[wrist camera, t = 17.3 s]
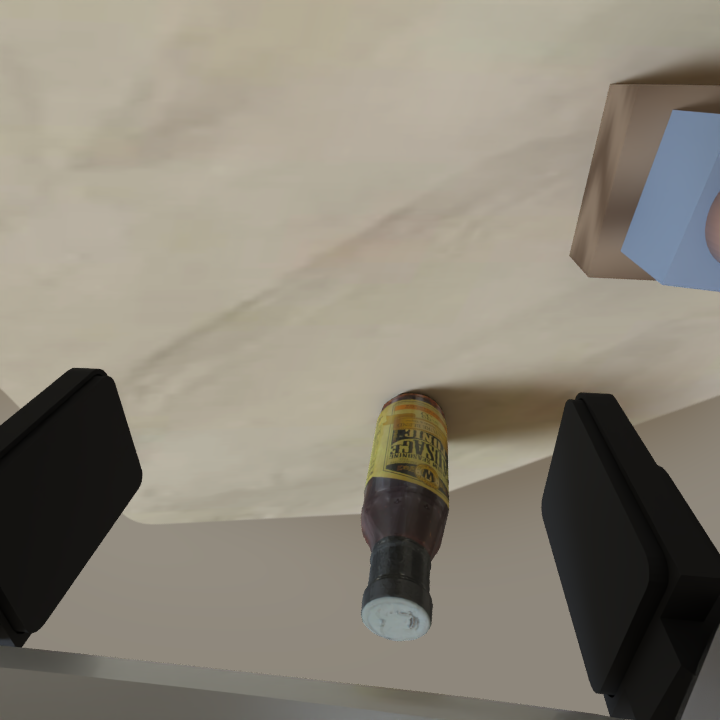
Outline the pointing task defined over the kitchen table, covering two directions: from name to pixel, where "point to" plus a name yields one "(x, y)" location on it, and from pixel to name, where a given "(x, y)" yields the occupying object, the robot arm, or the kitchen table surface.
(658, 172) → the tower middle
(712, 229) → the terracotta cylinder
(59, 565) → the robot arm
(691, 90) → the tower base
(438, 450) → the sauce bottle
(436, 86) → the kitchen table surface
